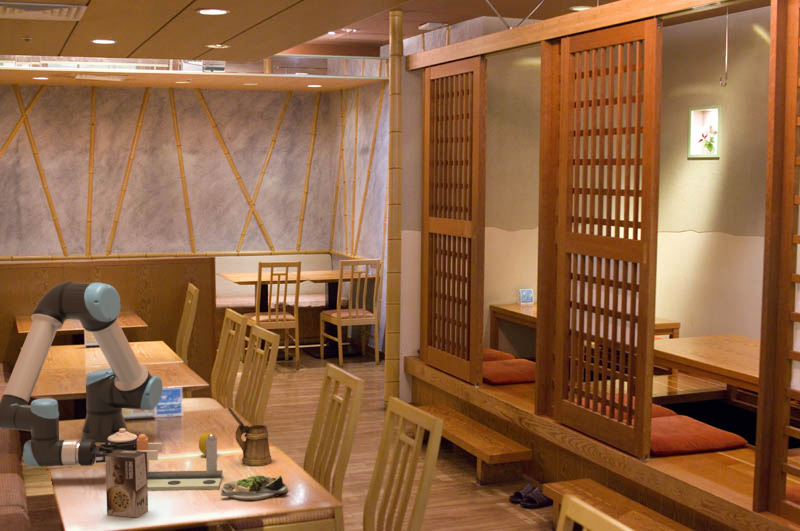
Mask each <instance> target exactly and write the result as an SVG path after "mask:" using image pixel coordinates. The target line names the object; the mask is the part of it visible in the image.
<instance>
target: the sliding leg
mask: <svg viewBox="0 0 800 531" xmlns="http://www.w3.org/2000/svg"><path fill="white" fill-rule="evenodd" d="M137 437H138V439H137V451H144V450H148V443H149V437H147V435H146V434H145V433H140V434H138V436H137ZM149 462H150V460H147V473H148V472H150V470H149V469H150V468H149V467H150V465H149V464H150V463H149Z"/></svg>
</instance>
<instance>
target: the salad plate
mask: <svg viewBox="0 0 800 531" xmlns="http://www.w3.org/2000/svg"><path fill="white" fill-rule="evenodd" d="M287 489H288V486H287V485H286V484H285V483H284V482H283V477H282V475H278V476H277V477H271V476H267V475H261V474H260V475H252V476H248V477H246V478H243V479H237V480H233V481H228V482H226V483H224V484H222V487H221V490H222V491H223V492H221V493H220V496H222V497H229V498H231V499H234V500H235V499H236V500H243V501H258V500H265V499H268V498H274V497H279V496H281V495H283V494H285V493H287V492H288V490H287ZM234 490H235V491H234Z"/></svg>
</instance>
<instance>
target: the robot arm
mask: <svg viewBox="0 0 800 531" xmlns="http://www.w3.org/2000/svg"><path fill="white" fill-rule="evenodd" d="M120 303H121V296H120V294H119V292H118V290H117V289H116V288H115V287H114V286H112V285H110V284H108V283H104V282H82V281H81V282H78V281H75V282H73V281H64V282H59V283H58V284H56V285H54V286H53V287H51V288H50V289H48V290H47V291H46V292H44V295H42V297H41V298H40V299H39V301H38V303H37V304H36V305H35V307H34V309H33V312H32V314H31V316H30V319H31V320H32V323H31V326H30V328H29V330H28V333H27V335H26V338H25V340H24V343H23V345H22V348H21V350H20V352H19V355H18V356H17V360H16V362H15V365H14V367H13V369H12V373H11V374H10V377H9V380H8V382H7V383H6V387H5V389H4V392H3V395H2V396H1V399H0V429H1V430H14V431H15V430H16V431H18V430H19V431H22V432H23V431H25V432H30V433H31V439H30V440H27V441H26V442H25V443H24V445H23V452H22V458H23V462H24V464H25V465H26V466H29V467H40V468H43V467H63V466H64V467H65V466H66V467H68V468H72V467H73V466H75V467H76V466H77V467H78V466H79V465H80V466H81V467H83V466H84V467H85V466H87V467H88V466H89V467H91V466H94V465H95V464H101V463H104V464H105V456H106V455H108V454H110V453H112V452H113V451H115V450H132V451H137V441H131V442H108V441H107V439H108V437H109V436H111V435H114V434H115V433H117V432H119V429H121V428H125V429H126V431H127V432H129V431H128V429H129V428H128V426H127V422H126V421H125V418H124V415H123V409H127V410H139V411H151V410H154V409H155V408H156V407H157V406H158V404H159V402H160V400H161V398H162V394H163V381H162V379H161V377H159V376H158V375H151V373H150V371H149V369H148V368H147V366H145V365H143V364H142V363H141V364H140V362H139V359H138V358H137V356H136V355H135V352H134V351H133V348H132V346H131V344H130V342H129V341H128V338H127V336H126V335H125V332H124V331H123V329H122V327H121V325H120V323H119V320H118V318H119V315H120V313H121V306H122V305H121V304H120ZM67 320H78V321H79V323H80V324H81V326H82V329H84V330H85V331H86V332H89V333H91V334H92V335H93V337H94V340H95V341H96V343H97V345H98V346H99V348H100V350H101V352H102V354H103V355H104V357H105V360H106V361H107V363H108V365H109V368H102V369H97V370H94V371H90V372H88V373H87V375H86V377H85V385H84V386H85V395H86V396H85V398H86V400H85V401H86V402H85V403H86V417H85V419H84V422H83V425H82V428H81V440H80V439H60V423H59V422H60V412H59V403H58V400H56V399H55V398H50V397H47V398H44V397H43V398H36V399H34V400H32V401H31V402H30V399H31V397H32V393H33V392H34V389H35V386H36V385H37V384H36V383H37V382H38V379H39V376H40V373H41V371H42V369H43V366H44V364H45V361H46V360H47V357H48V354H49V352H50V350H51V349H50V348H51V346H52V343H53V341H54V339H55V337H56V334H57V332H58V330H61V329H62V328H63V325H64V323H65V322H66V321H67ZM29 402H30V404H29ZM96 442H97V443H98V442H101V443H102V442H104V443H102V444H101V443H100V444H99V445H97V444H96ZM144 451H145V452H147V460H149V461H158V460H159V459H158V458H159V454H160V453H162V452H163V442H148V450H144Z"/></svg>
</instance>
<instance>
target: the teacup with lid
mask: <svg viewBox="0 0 800 531" xmlns="http://www.w3.org/2000/svg"><path fill="white" fill-rule="evenodd" d="M138 437H139V436H137V434H135V433H132V432H129V431H128V432H127V431H126V429H125V428H121V429H119V432H117V433H115V434H114V435H111V436H109V437H108V439H107V441H106V442H131V441H137V439H138Z"/></svg>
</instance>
